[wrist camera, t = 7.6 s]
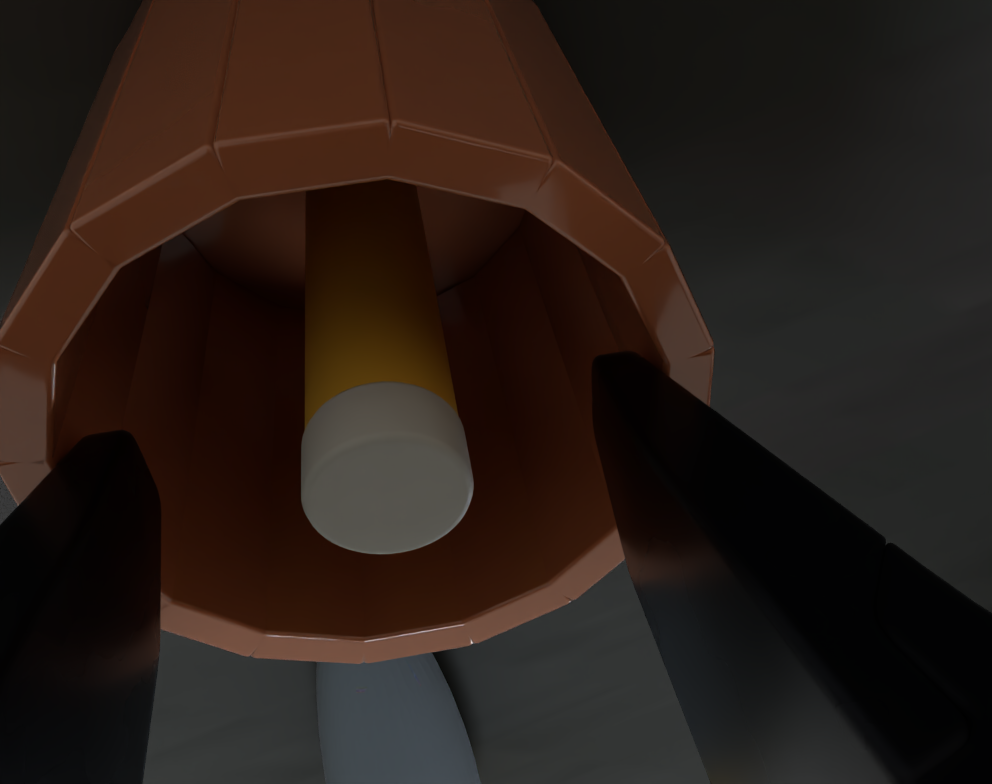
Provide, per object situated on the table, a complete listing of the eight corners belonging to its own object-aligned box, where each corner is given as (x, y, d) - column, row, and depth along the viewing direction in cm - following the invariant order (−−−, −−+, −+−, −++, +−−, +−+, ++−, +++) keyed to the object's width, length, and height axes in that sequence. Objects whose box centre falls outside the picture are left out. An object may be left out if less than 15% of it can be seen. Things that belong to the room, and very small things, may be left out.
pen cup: (557, -134, 12) (744, 71, 7) (570, 285, 17) (692, 608, 11) (41, -71, 12) (-171, 196, 7) (192, 343, 16) (135, 706, 11)
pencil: (403, 95, 13) (466, 423, 8) (418, 193, 14) (482, 543, 9) (292, 110, 13) (283, 452, 8) (315, 208, 14) (319, 569, 9)
